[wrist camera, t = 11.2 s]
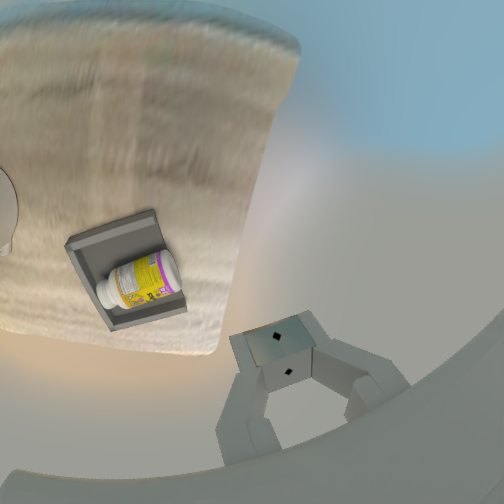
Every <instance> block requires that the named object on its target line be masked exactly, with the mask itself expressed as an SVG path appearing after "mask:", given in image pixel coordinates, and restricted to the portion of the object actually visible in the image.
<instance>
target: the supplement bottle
mask: <svg viewBox="0 0 504 504" xmlns="http://www.w3.org/2000/svg"><path fill="white" fill-rule="evenodd" d="M181 287H182V283H181V278H180V274H179V271H178V269H177V266H176V263H175V261H174V259H173V257H172V255H171V253H170V252H169V251H168V250H162V251H159V252H156V253H154V254H151V255H148V256H146V257H143V258H141V259H138V260H135V261H133V262H130V263H128V264H125V265H123V266H120V267H118V268H115V269H113V270H112V271H111V273H110V275H109V279H104V280H102V281H99V282H98V283H97V286H96V290H97V295H98V298H99V300H100V302H101V304H102V305H103V307H104V308H106V309H111V308H114V307H116V306H117V305H119V306H120V307H122V308H124V309H130V308H133V307H135V306H138V305H141V304H144V303H147V302H150V301H153V300H156V299H158V298H161V297H164V296H167V295H170V294H172V293H175V292H178V291H180V290H181Z"/></svg>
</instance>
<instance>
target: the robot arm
mask: <svg viewBox="0 0 504 504" xmlns="http://www.w3.org/2000/svg"><path fill="white" fill-rule="evenodd" d="M17 217H18V205H17V199H16V194H15V191H14V188H13V186H12V184H11V182H10V180H9V178H8V177H7V175H6V174H5V173H4V172H3V171H2V170H1V169H0V257H3V256H7V255H8V254H9V253H10V252H11V238H12V235H13V232H14V230H15V227H16V223H17ZM1 250H2V251H1ZM229 339H230V343H231V346H232V349H233V352H234V355H235V358H236V361H237V364H238V367H239V370H240V373H238V374H236V377H235V379H234V382H233V384H232V387H231V390H230V392H229V395H228V398H227V401H226V403H225V406H224V409H223V411H222V414H221V416H220V419H219V421H218V424H217V427H216V429H215V431H216V435H217V439H218V442H219V446H220V450H221V453H222V457H223V461H224V464H225V466H224V467H220V468H215V469H211V470H205V471H200V472H194V473H188V474H181V475H174V476H165V477H156V478H142V479H85V478H72V477H62V476H54V475H47V474H40V473H35V472H30V471H25V470H20V469H16V470H13V471H12V472H11V473H10V474H9V476H8V477H7V479H6V480H5V481H4V483H3V484H2V486H1V487H0V504H504V308H503V309H502V311H501V312H500V313H499V314H498V315H497V316H496V317H495V318H494V319H493V320H492V321H491V322H490V323H489V324H488V325H487V326H486V327H485V328H484V329H483V330H482V331H481V332H479V333H478V334H477V335H476V336H475V337H474V338H473V339H472V340H471V341H470V342H469V343H467V344H466V345H465V346H464V347H463V348H461V349H460V350H459V351H458V352H457V353H455V354H454V355H453V356H452V357H450V358H449V359H448V360H447V361H445V362H444V363H443V364H442V365H440V366H439V367H438V368H436V369H435V370H434V371H432V372H431V373H430V374H428V375H427V376H426V377H424V378H423V379H421V380H420V381H418V382H417V383H415V384H414V385H413V386H411V385H410V384H409V383H408V382H407V380H406V379H405V377H404V376H403V375H402V374H401V372H400V371H399V370H398V369H397V367H396V366H395V365H394V364H393V362H392V361H391V360H389V359H386V358H383V357H381V356H378V355H375V354H373V353H370V352H368V351H365V350H362V349H360V348H357V347H354V346H352V345H350V344H347V343H345V342H342V341H340V340H337V339H332V340H331V339H330V338H329V337H328V335H327V334H326V332H325V331H324V329H323V328H322V327H321V325H320V324H319V322H318V321H317V319H316V318H315V317H314V315H313V314H312V312H311V311H309V310H307V311H304V312H302V313H299V314H296V315H293V316H290V317H288V318H285V319H282V320H279V321H276V322H274V323H271V324H269V325H265V326H262V327H259V328H255V329H252V330H249V331H245V332H242V333H239V334H235V335H232V336H229ZM311 377H312V378H313V379H315V380H316V381H318V382H320V383H321V384H323V385H325V386H326V387H328V388H330V389H332V390H333V391H335V392H337V393H339V394H340V395H342V396H344V397H346V398H348V399H349V401H348V404H347V407H346V410H345V413H344V416H345V418H346V420H347V421H348V423H346V424H344V425H342V426H340V427H338V428H336V429H333V430H331V431H329V432H327V433H324V434H322V435H320V436H317V437H315V438H313V439H310V440H308V441H305V442H303V443H300V444H297V445H295V446H292V447H289V448H287V449H284V450H282V448H281V446H280V443H279V441H278V439H277V436H276V434H275V432H274V430H273V427H272V425H271V422H270V420H269V419H266V418H263V416H264V412H265V407H266V403H267V399H268V393H270V392H273V391H276V390H278V389H281V388H284V387H286V386H289V385H291V384H294V383H297V382H300V381H303V380H305V379H308V378H311Z"/></svg>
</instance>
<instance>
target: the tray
mask: <svg viewBox="0 0 504 504" xmlns="http://www.w3.org/2000/svg"><path fill="white" fill-rule="evenodd" d="M64 247H65V249H66V252H67V254H68V256H69V258H70V260H71V262H72V264H73V266H74V268H75V270H76V272H77V274H78V276H79V278H80V280H81V282H82V284H83V285H84V287H85V289H86V291H87V293H88V295H89V296H90V298H91V300H92V302H93V303H94V305H95V307H96V308H97V310H98V312H99V313H100V315H101V317H102V318H103V320H104V322H105V323H106V325H107V326H108V328H109V329H110V331H111V332H112V331H116V330H121V329H125V328H129V327H132V326H136V325H140V324H144V323H148V322H152V321H156V320H159V319H163V318H167V317H170V316H174V315H178V314H181V313H185V312H187V306H186V300H185V298H184V295H183V293H182V290H180V291H178V292H175V293H172V294H170V295H167V296H164V297H161V298H158V299H156V300H153V301H150V302H147V303H144V304H141V305H138V306H135V307H133V308H130V309H124V308H122V307H120V306H119V305H117V306H116V307H114V308H111V309H106V308H104V307H103V305H102V304H101V302H100V300H99V298H98V295H97V290H96V286H97V283H98V282H99V281H102V280H104V279H109V275H110V273H111V271H112V270H113V269H115V268H118V267H120V266H123V265H125V264H128V263H130V262H133V261H135V260H138V259H141V258H143V257H146V256H148V255H151V254H154V253H156V252H159V251H162V250H167V249H166V246H165V243H164V240H163V237H162V234H161V231H160V228H159V225H158V221H157V218H156V215H155V212H154V209H153V210H150V211H146V212H143V213H140V214H137V215H134V216H130V217H127V218H124V219H121V220H118V221H115V222H112V223H109V224H106V225H103V226H100V227H98V228H95V229H92V230H89V231H86V232H84V233H81V234H78V235H75V236H73V237H70V238H69V239H68V241H67V242H66V244H65V245H64Z"/></svg>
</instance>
